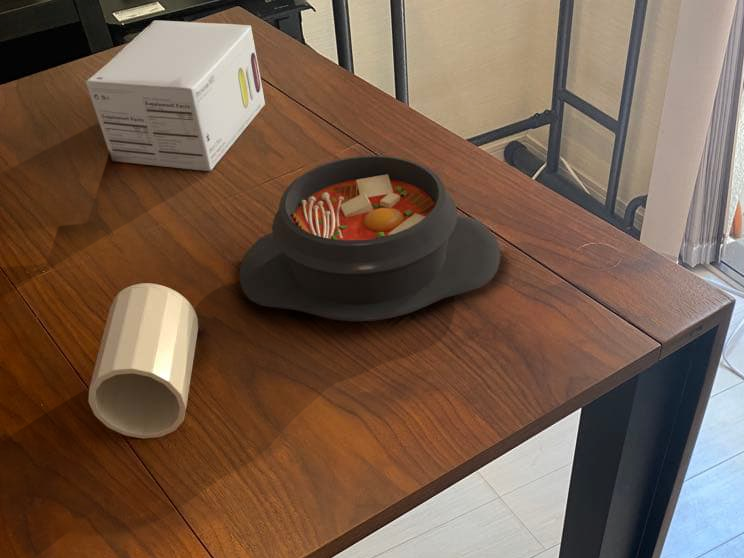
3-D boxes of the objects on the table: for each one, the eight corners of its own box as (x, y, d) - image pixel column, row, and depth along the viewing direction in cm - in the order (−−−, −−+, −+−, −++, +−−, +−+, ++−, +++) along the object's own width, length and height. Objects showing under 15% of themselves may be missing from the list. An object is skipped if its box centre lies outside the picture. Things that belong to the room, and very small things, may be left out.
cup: (126, 356, 76) (107, 442, 70) (98, 287, 71) (74, 373, 64) (207, 348, 76) (195, 434, 70) (185, 279, 70) (170, 365, 64)
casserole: (235, 349, 76) (213, 269, 69) (249, 234, 87) (231, 155, 81) (511, 326, 75) (515, 243, 69) (489, 213, 87) (490, 133, 80)
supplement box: (213, 173, 96) (191, 88, 88) (111, 164, 98) (82, 80, 91) (268, 103, 105) (252, 22, 98) (174, 97, 108) (152, 17, 101)
